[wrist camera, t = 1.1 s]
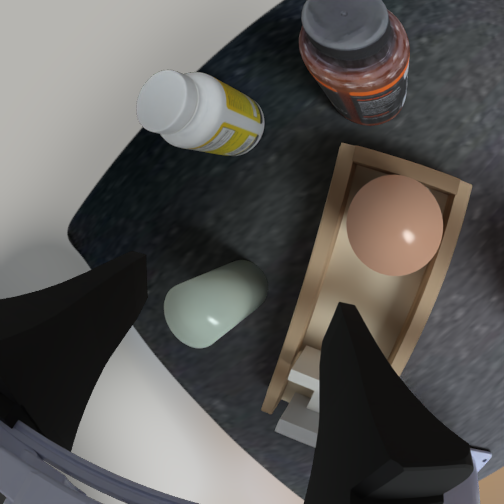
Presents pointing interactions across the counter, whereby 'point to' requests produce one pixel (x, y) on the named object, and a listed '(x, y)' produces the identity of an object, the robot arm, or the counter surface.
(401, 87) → the supplement bottle
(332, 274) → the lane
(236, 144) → the supplement bottle
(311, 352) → the pusher
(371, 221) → the pinkish brown rounded cylinder
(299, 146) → the counter surface
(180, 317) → the green jar
